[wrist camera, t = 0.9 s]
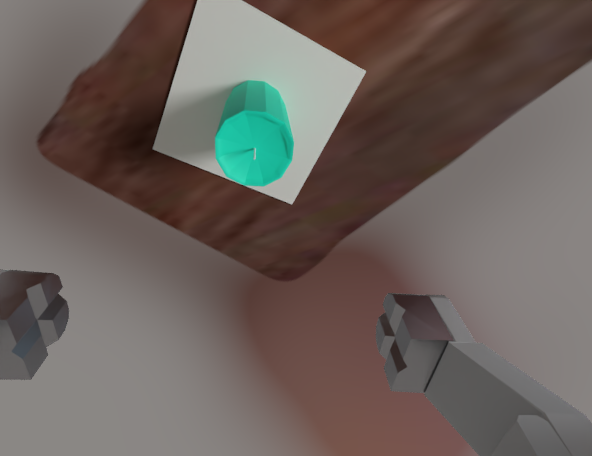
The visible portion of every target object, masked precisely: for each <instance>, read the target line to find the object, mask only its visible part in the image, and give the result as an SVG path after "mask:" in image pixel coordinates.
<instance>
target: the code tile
mask: <svg viewBox="0 0 592 456" xmlns="http://www.w3.org/2000/svg"><path fill="white" fill-rule="evenodd" d="M365 73H366V71H365V70H363V69H361V68H359V67H358V66H356V65H354V64H352V63H351V62H349V61H347V60H345V59H344V58H342V57H340V56H338V55H337V54H335V53H333V52H331V51H330V50H328V49H326V48H324V47H323V46H321V45H319V44H317V43H316V42H314V41H312V40H310V39H309V38H307V37H305V36H303V35H302V34H300V33H298V32H296V31H295V30H293V29H291V28H289V27H288V26H286V25H284V24H282V23H281V22H279V21H277V20H275V19H274V18H272V17H270V16H268V15H267V14H265V13H263V12H261V11H260V10H258V9H256V8H254V7H253V6H251V5H249V4H247V3H246V2H244V1H242V0H197V4H196V7H195V10H194V14H193V17H192V20H191V24H190V27H189V30H188V33H187V37H186V40H185V43H184V47H183V50H182V53H181V57H180V60H179V63H178V67H177V70H176V73H175V77H174V80H173V83H172V86H171V90H170V93H169V96H168V100H167V103H166V106H165V110H164V113H163V116H162V120H161V123H160V126H159V129H158V133H157V136H156V139H155V143H154V146H153V150H156V151H158V152H161V153H163V154H166V155H168V156H171V157H173V158H176V159H178V160H181V161H183V162H186V163H188V164H191V165H193V166H196V167H198V168H201V169H204V170H206V171H209V172H211V173H214V174H216V175H219V176H221V177H224V178H226V179H229V180H231V181H234V180H232V179H230V178H228V177H226V175H225V174H224V172H223V170H222V168H221V167H220V165H219V163H218V162H217V160H216V154H215V136H216V132H217V129H218V126H219V123H220V119H221V116H222V113H223V110H224V106H225V103H226V101H227V99H228V97H229V95H230V94H231V92H232V90H233V88H234V87H236V86H238V85H240V84H242V83H244V82H246V81H247V80H253V81H265V82H266V83H268V84H269V85H271V86H272V87H274V88H275V89H277V90H278V91H279V93H280V95H281V97H282V99H283V101H284V103H285V106H286V110H287V114H288V118H289V123H290V127H291V131H292V135H293V139H294V149H293V159H292V162H291V163H290V165H289V166H288V168H287V170H286V171H285V173H284V175H283V176H282V178H280V179H278V180H276V181H274V182H272V183H270V184H268V185H266V186H246V187H249V188H251V189H254V190H257V191H259V192H262V193H264V194H267V195H269V196H272V197H274V198H277V199H279V200H282V201H284V202H287V203H289V204H293V202H294V200H295V198H296V197H297V195H298V193H299V191H300V189H301V188H302V186H303V184H304V182H305V180H306V179H307V177H308V175H309V173H310V171H311V170H312V168H313V166H314V164H315V163H316V161H317V159H318V157H319V155H320V154H321V152H322V150H323V148H324V146H325V145H326V143H327V141H328V139H329V137H330V136H331V134H332V132H333V130H334V128H335V127H336V125H337V123H338V121H339V120H340V118H341V116H342V114H343V112H344V111H345V109H346V107H347V105H348V103H349V102H350V100H351V98H352V96H353V94H354V93H355V91H356V89H357V87H358V85H359V84H360V82H361V80H362V78H363V77H364V75H365ZM234 182H236V181H234ZM236 183H238V182H236ZM239 184H240V183H239ZM241 185H242V184H241Z"/></svg>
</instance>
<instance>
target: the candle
mask: <svg viewBox="0 0 592 456" xmlns="http://www.w3.org/2000/svg"><path fill="white" fill-rule="evenodd" d="M293 149H294V139H293V135H292V131H291V127H290V123H289V118H288V114H287V110H286V106H285V103H284V101H283V99H282V97H281V95H280V93H279V91H278V90H277V89H275V88H274V87H272V86H271V85H269V84H268V83H266V82H265V81H253V80H247V81H246V82H244V83H242V84H240V85H238V86H236V87H234V88H233V90H232V92H231V94H230V95H229V97H228V99H227V101H226V103H225V106H224V110H223V113H222V116H221V119H220V123H219V126H218V129H217V132H216V136H215V154H216V160H217V162H218V163H219V165H220V167H221V168H222V170H223V172H224V174H225V175H226V177H228V178H230V179H232V180H234V181H236V182H238V183H240V184H242V185H244V186H266V185H268V184H270V183H272V182H274V181H276V180H278V179H280V178H282V176H283V175H284V173H285V171H286V170H287V168H288V166H289V165H290V163H291V162H292V159H293Z"/></svg>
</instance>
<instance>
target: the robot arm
mask: <svg viewBox="0 0 592 456" xmlns="http://www.w3.org/2000/svg"><path fill="white" fill-rule="evenodd" d="M62 287H63V286H62V284H61V280H60V277H59V276H58V275H56V274H54V273H42V272H29V271H17V270H0V379H21V380H23V379H24V380H25V379H26V380H27V379H29V380H30V379H32V377H33V376H34V374H35V373H36V372H37V370H38V369H39V367H40V366H41V364H42V363H43V361H44V360H45V359H46V357H47V356H48V353H47V348H46V347H47V346H49V345H51V344H52V343H54V342H55V341H57V340H59V338H60V337H61V335H62V334H63V332H64V331H65V328H66V325H67V322H68V318H69V308H68V304H67V301H66V300H65V299H63V298H62V297H61V296H60V295H59V294H58V293H59V292H60V290H61V289H62ZM383 306H384V309H385V313H384V314H382V315H381V316H380V317H379V319H378V322H377V326H376V342H377V347H378V350H379V353H380V354H381V355H382V356H383V357H384V358H385V359H386V363H385V366H384V370H385V373H386V376H387V380H388V383H389V386H390V389H391V391H400V392H417V393H425V394H424V395H425V396H426V397H427V398H428V400H429V401H430V402H431V403H432V404H433V405H434V406H435V407H436V408H437V410H438V411H439V412H440V413H441V414H442V415H443V416H444V417H445V418H446V419H447V420H448V421H449V423H450V424H451V425H452V426H453V427H454V428H455V429H456V430H457V432H458V433H459V434H460V435H461V436H462V437H463V438H464V439H465V440H466V441H467V443H468V444H469V445H470V446H471V447H472V448H473V449H474V450H475V451H476V452H477V454H478V455H479V456H592V423H591V422H590V420H589V419H588V418H587V416H586V415H584V414H583V413H581V412H580V411H579V410H577V409H576V408H574V407H573V406H572V405H570V404H569V403H567V402H566V401H564V400H563V399H562V398H560V397H559V396H557V395H556V394H554V393H553V392H552V391H550V390H549V389H547V388H546V387H544V386H543V385H542V384H540V383H539V382H537V381H536V380H534V379H533V378H531V377H530V376H529V375H527V374H526V373H524V372H523V371H521V370H520V369H519V368H517V367H516V366H514V365H513V364H511V363H510V362H509V361H507V360H506V359H504V358H503V357H501V356H500V355H498V354H497V353H496V352H494V351H493V350H491V349H490V348H488V347H487V346H486V345H484V344H483V343H476V342H475V340H474V338H473V337H472V335H471V334H470V332H469V330H468V329H467V327H466V326H465V324H464V322H463V321H462V319H461V318H460V316H459V314H458V313H457V311H456V310H455V308H454V307H453V306H452V303H451V302H450V300H449V299H448V298H447V297H446V296H444V295H414V294H395V293H388V294H387V296H386V297H385V300H384V303H383Z"/></svg>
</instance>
